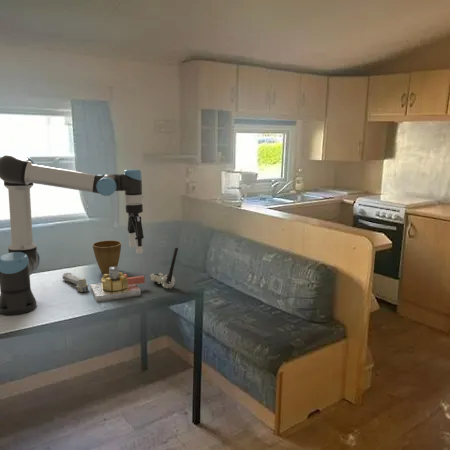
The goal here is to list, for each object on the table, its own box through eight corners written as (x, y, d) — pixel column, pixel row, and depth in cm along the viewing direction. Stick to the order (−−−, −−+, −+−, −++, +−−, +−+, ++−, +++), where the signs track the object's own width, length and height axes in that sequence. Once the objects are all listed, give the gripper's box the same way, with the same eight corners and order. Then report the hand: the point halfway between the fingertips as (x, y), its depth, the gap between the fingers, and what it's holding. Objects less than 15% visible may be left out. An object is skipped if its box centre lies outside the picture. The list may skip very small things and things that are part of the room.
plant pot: (98, 268, 255) (96, 240, 252) (125, 268, 255) (123, 240, 252) (90, 276, 241) (88, 246, 238) (118, 276, 241) (117, 246, 238)
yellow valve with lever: (104, 292, 208) (103, 280, 207) (100, 284, 219) (99, 273, 218) (147, 286, 216) (146, 275, 215) (141, 279, 227) (140, 268, 226)
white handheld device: (70, 271, 237) (89, 276, 217) (72, 284, 237) (90, 290, 218) (60, 273, 234) (78, 278, 214) (62, 286, 234) (79, 292, 215)
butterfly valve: (145, 281, 232) (159, 287, 217) (154, 242, 233) (169, 246, 218) (161, 283, 236) (176, 290, 222) (169, 245, 237) (185, 249, 223)
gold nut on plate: (96, 301, 204) (94, 275, 202) (90, 289, 220) (88, 265, 218) (140, 295, 212) (139, 270, 210) (131, 284, 228) (130, 260, 226)
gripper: (149, 207, 198) (151, 255, 202) (135, 199, 220) (137, 243, 224) (132, 208, 195) (134, 257, 199) (119, 200, 217) (121, 245, 221)
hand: (136, 249), depth 212 cm, fingers open, 12 cm apart
